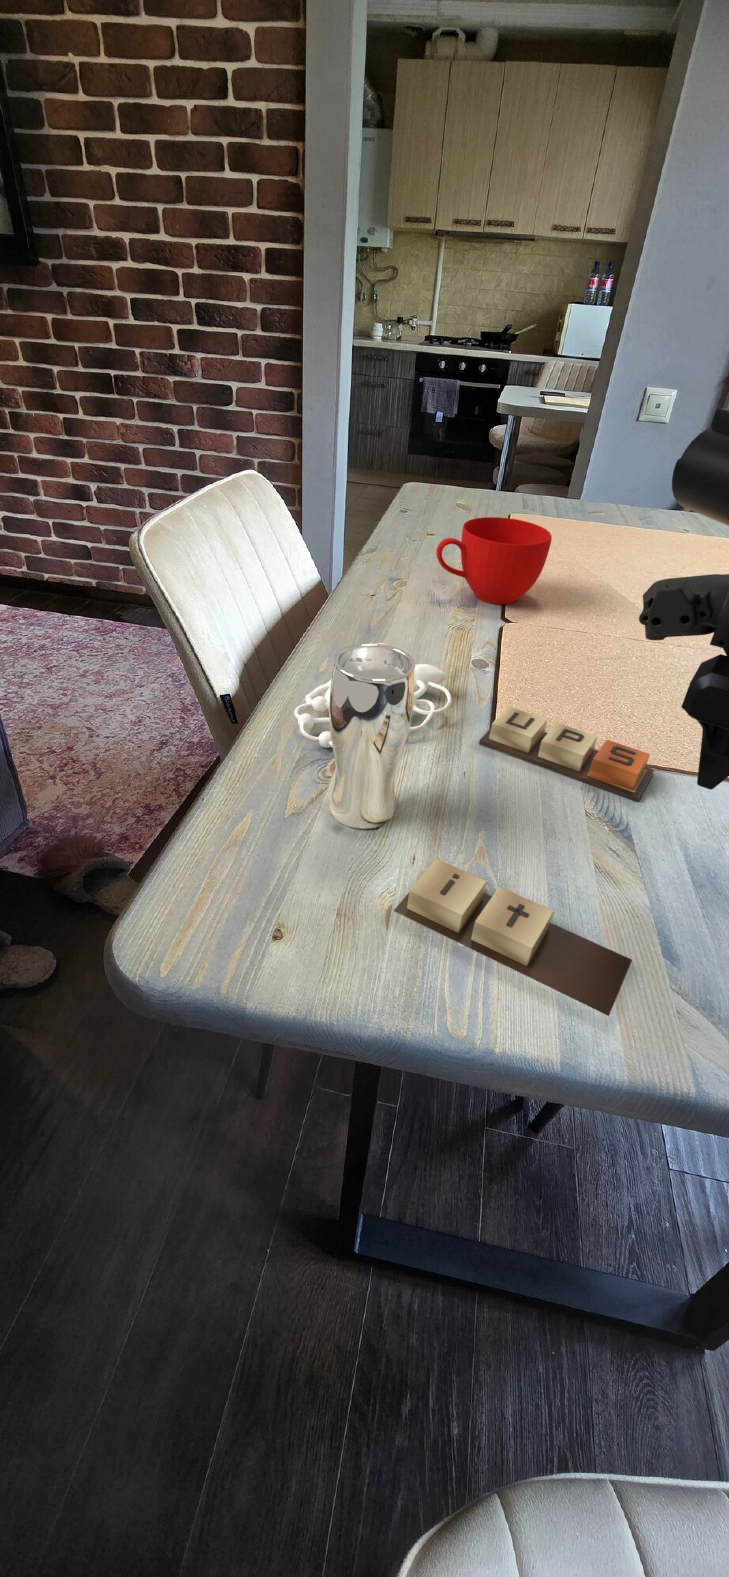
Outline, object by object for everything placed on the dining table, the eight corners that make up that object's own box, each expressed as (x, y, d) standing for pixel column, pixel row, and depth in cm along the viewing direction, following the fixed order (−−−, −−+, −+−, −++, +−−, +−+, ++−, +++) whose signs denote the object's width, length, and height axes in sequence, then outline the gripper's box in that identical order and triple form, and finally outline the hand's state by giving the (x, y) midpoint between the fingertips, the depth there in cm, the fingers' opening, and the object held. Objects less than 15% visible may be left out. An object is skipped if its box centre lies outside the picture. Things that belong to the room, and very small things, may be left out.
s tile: (644, 770, 75) (650, 752, 74) (632, 790, 72) (638, 773, 71) (601, 755, 77) (606, 738, 76) (588, 774, 74) (593, 757, 73)
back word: (653, 773, 76) (660, 752, 74) (637, 802, 72) (645, 780, 70) (501, 720, 82) (505, 700, 81) (478, 743, 78) (482, 722, 77)
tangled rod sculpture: (370, 785, 73) (375, 752, 70) (261, 723, 78) (262, 691, 76) (467, 707, 85) (475, 677, 83) (367, 659, 91) (371, 629, 88)
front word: (630, 963, 55) (640, 939, 53) (606, 1019, 51) (616, 995, 49) (428, 872, 61) (432, 848, 60) (392, 914, 57) (395, 890, 56)
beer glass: (402, 790, 70) (419, 646, 62) (397, 837, 65) (416, 686, 56) (330, 782, 71) (337, 638, 62) (319, 828, 65) (325, 676, 56)
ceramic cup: (418, 582, 115) (425, 517, 110) (517, 579, 119) (529, 516, 114) (445, 616, 105) (455, 546, 100) (552, 611, 109) (568, 544, 104)
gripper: (701, 500, 57) (642, 681, 66) (638, 563, 44) (575, 777, 53) (862, 533, 52) (775, 721, 62) (846, 613, 39) (738, 837, 48)
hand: (716, 758), depth 56 cm, fingers open, 9 cm apart
